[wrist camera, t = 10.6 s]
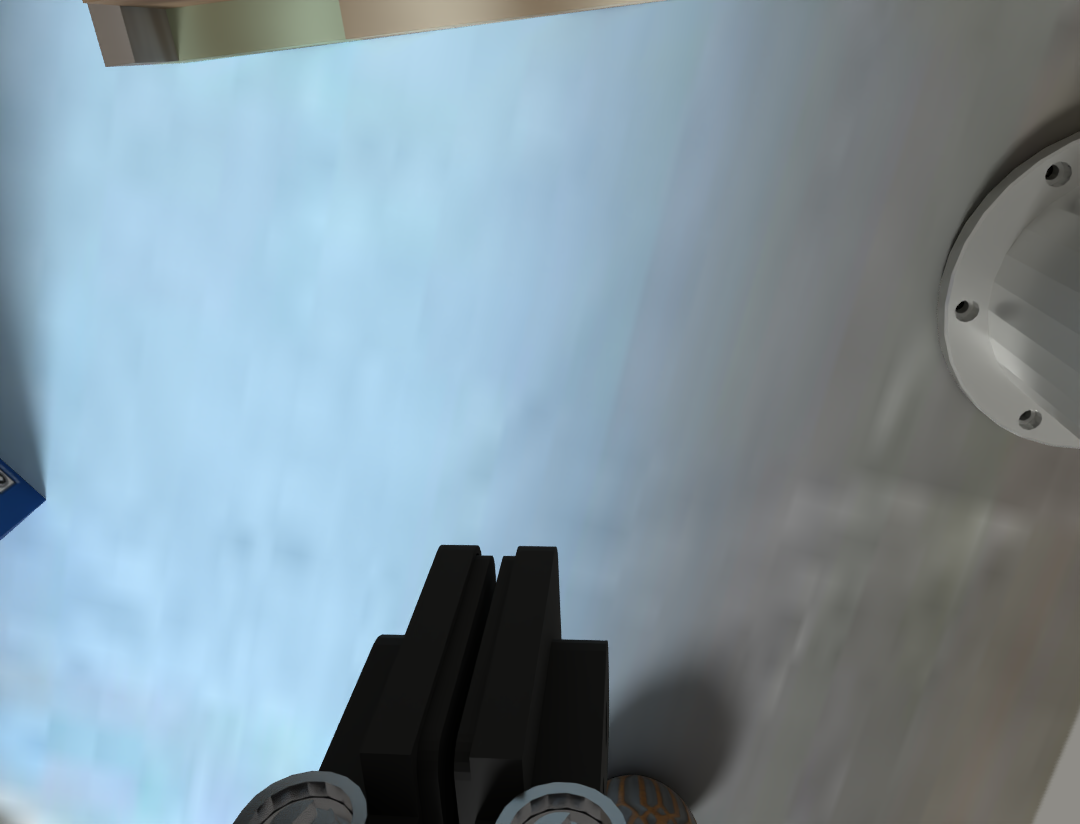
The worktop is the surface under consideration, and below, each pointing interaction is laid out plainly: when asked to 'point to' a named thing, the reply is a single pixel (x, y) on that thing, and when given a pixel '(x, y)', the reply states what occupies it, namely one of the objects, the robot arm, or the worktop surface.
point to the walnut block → (153, 3)
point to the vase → (647, 801)
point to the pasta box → (15, 499)
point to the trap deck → (294, 24)
